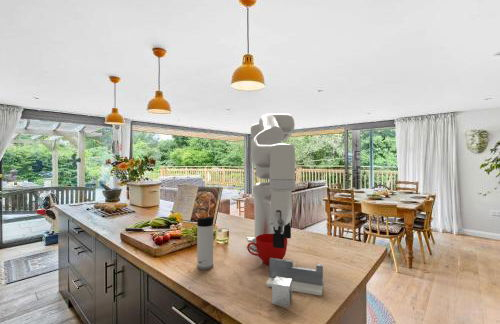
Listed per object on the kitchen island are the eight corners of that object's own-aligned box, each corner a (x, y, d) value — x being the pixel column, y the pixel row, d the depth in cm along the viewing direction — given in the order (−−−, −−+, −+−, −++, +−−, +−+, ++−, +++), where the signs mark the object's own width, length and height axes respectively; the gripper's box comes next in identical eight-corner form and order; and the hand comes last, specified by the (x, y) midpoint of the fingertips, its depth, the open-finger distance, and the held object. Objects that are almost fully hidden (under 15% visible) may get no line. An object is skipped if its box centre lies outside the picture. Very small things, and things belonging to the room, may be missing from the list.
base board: (266, 286, 85) (266, 282, 85) (273, 273, 94) (273, 270, 94) (321, 295, 79) (321, 291, 79) (323, 281, 88) (323, 277, 88)
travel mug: (200, 271, 96) (200, 219, 96) (195, 265, 102) (195, 215, 102) (215, 268, 99) (215, 217, 99) (210, 262, 105) (210, 214, 105)
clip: (272, 303, 74) (272, 283, 74) (276, 295, 79) (276, 276, 79) (289, 307, 73) (289, 286, 73) (292, 298, 77) (292, 278, 77)
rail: (269, 277, 89) (269, 259, 89) (270, 276, 90) (270, 257, 90) (322, 285, 83) (322, 266, 83) (322, 284, 84) (322, 264, 84)
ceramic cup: (243, 259, 108) (243, 235, 108) (279, 254, 113) (279, 232, 113) (251, 271, 96) (251, 245, 96) (292, 266, 101) (292, 241, 101)
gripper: (276, 182, 85) (276, 233, 85) (262, 187, 69) (262, 250, 69) (299, 183, 83) (299, 235, 83) (289, 188, 66) (289, 253, 66)
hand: (282, 242), depth 76 cm, fingers open, 9 cm apart
